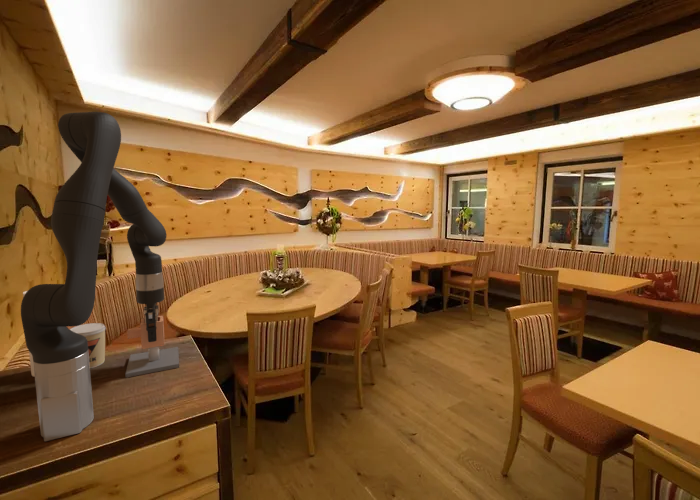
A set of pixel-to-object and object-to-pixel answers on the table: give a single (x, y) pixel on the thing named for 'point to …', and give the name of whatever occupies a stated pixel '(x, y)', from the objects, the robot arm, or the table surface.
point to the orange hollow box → (143, 333)
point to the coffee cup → (93, 341)
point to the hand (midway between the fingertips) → (152, 337)
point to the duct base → (152, 361)
